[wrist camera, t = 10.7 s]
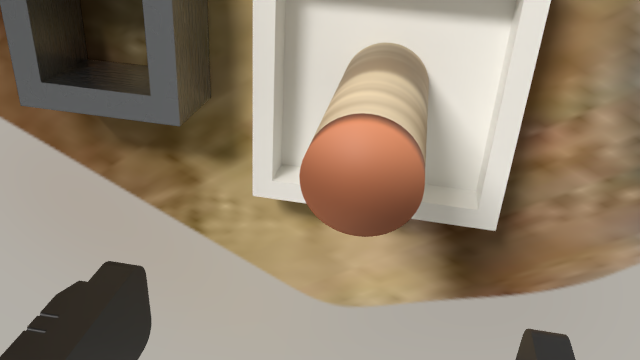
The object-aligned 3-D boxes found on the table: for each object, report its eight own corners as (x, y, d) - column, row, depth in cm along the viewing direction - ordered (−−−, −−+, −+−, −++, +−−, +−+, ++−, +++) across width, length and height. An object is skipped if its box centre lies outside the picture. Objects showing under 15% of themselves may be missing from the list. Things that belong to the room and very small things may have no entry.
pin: (347, 37, 26) (302, 117, 17) (435, 47, 26) (434, 134, 17) (340, 118, 28) (296, 226, 19) (421, 129, 27) (414, 245, 19)
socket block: (42, -84, 27) (-17, -79, 23) (204, -71, 26) (167, -64, 22) (68, 80, 31) (20, 105, 27) (210, 97, 29) (179, 126, 26)
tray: (269, -66, 25) (252, -61, 23) (548, -43, 24) (559, -36, 21) (265, 173, 31) (252, 195, 29) (491, 205, 29) (495, 230, 27)
